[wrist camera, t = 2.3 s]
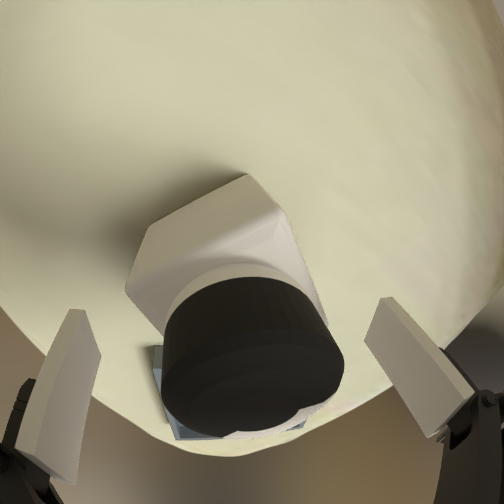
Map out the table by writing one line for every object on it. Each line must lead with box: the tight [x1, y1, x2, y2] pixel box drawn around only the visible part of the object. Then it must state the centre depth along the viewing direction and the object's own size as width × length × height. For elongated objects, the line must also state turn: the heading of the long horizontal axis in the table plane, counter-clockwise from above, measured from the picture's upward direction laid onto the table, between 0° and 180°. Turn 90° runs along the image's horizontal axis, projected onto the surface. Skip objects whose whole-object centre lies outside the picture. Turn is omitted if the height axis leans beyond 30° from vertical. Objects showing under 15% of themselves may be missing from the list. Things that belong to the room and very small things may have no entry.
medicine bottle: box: [125, 175, 344, 439], centre depth 12 cm, size 7×7×12 cm
